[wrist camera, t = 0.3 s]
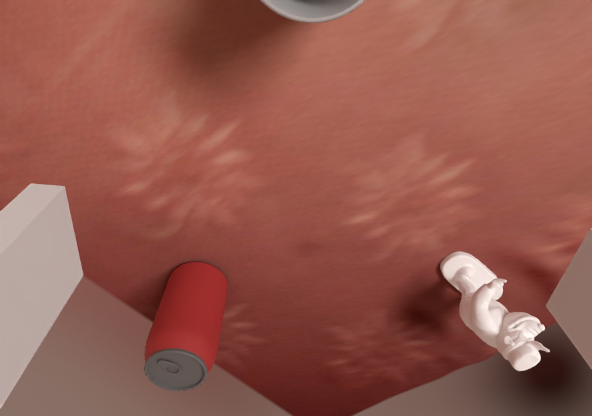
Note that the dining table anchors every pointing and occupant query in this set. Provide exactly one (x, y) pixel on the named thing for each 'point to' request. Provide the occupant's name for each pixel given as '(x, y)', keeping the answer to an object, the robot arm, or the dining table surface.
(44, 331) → the robot arm
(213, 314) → the beer can
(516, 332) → the figurine
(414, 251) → the dining table surface
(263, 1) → the mug
